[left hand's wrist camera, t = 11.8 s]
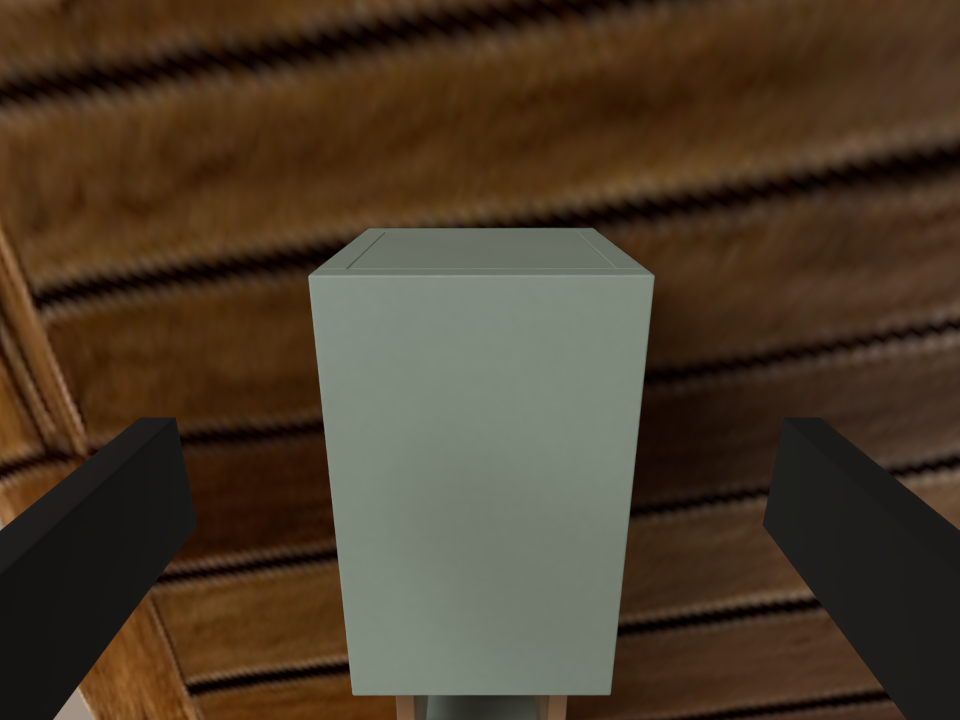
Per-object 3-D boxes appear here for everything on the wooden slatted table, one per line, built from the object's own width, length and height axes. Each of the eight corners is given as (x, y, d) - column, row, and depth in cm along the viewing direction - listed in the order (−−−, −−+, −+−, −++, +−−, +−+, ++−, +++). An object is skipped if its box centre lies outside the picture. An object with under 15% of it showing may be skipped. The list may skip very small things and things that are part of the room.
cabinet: (573, 536, 33) (611, 695, 23) (388, 536, 33) (352, 696, 23) (593, 228, 27) (655, 275, 17) (368, 228, 27) (307, 275, 17)
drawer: (551, 761, 38) (570, 916, 30) (410, 761, 38) (393, 916, 30) (569, 463, 30) (600, 572, 22) (392, 463, 30) (362, 572, 22)
